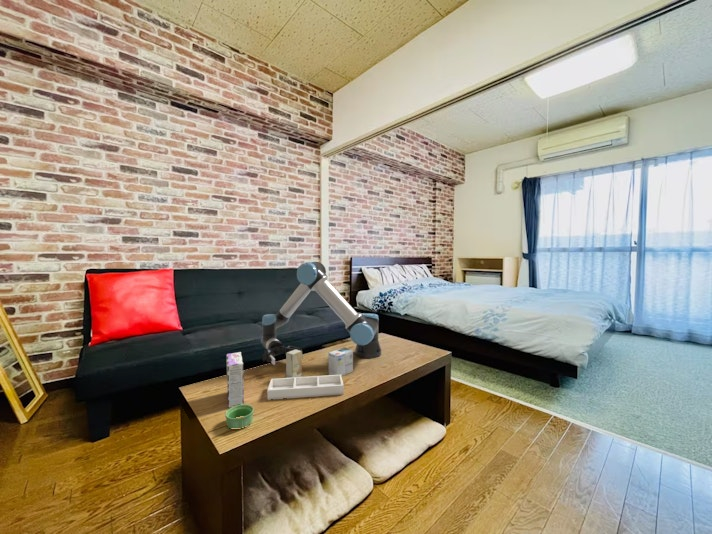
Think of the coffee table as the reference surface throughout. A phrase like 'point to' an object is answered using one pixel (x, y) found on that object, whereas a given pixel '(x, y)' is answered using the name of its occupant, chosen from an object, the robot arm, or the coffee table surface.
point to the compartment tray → (305, 387)
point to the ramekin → (237, 412)
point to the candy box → (235, 379)
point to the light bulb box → (340, 361)
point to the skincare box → (294, 364)
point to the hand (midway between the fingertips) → (288, 359)
